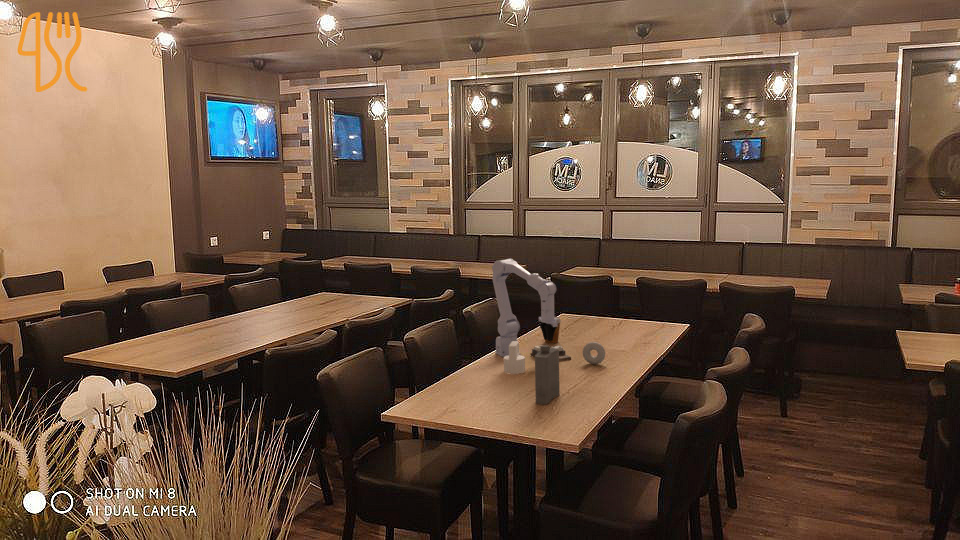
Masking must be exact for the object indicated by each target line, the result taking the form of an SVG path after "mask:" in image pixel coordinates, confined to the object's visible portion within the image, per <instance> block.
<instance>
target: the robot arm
mask: <svg viewBox="0 0 960 540" xmlns="http://www.w3.org/2000/svg"><path fill="white" fill-rule="evenodd" d="M491 269H492V276H491V277H492V278H491V279H492V283H493V289H494V293H495V298H496V302H497V307H498V311H499V314H500V316H499V318H498V319H497V332H498V334H499V335H500V336H497V337H496V339H495V354H496V355H498V356H499V357H502V358H504V357H505V356H508V355H509V345H510V343H511V342H512V341H518V332H519V331H520V328H521V325H520V322H519V320H518V319H517V316H516V315H515V314H513V311H512V307H511V302H510V297H509V293H508V288H507V285H506V280H507V278H508V276H509V275H511V274H512V273H513V274H515V275H517V276H518V277H520V278H522V279H523V280H526V283H527V285H528V286H530V287H531V288H533V289H534V290H536V291H537V292H538V295H539V297H540V298H539V299H540V309H541V311H540V313H541V314H540V316H538V322H540V323H538V327H540V330H541V332H542V337H543V340H544V341H545V340H546V339H547V340H548V341H552V340H553V336H554V332H555V330H556V328H557V327H558V323H557V322H556V321H557V319H555V318H554V317H555V294H556V293H557V286H556V284H555V282H553V281H547V279H544V278H542V277H541V276H540V274H539V273H530V272H529V271H528V270H526V269H525V268H524V267H522V266H521V265H520V264H518V262H517V261H516V260H514V259H513V258H506V259H501V260H495V262H494V263H493V264H492V266H491ZM519 355H521V353H520V352H519Z"/></svg>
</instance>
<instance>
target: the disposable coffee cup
mask: <svg viewBox="0 0 960 540" xmlns="http://www.w3.org/2000/svg"><path fill="white" fill-rule="evenodd" d="M554 318H555V319H557V321H556V322H557V323H558V327H557V328H556V330H555V332H554V336H553V340H552V341H548V340H547V339H546V340H545V339H544V342H546V344H549V343H551V344H552V343H554V344H557V343H559V338H560V337H559V335H560V327H561V322H562V319H561V318H560V317H559V316H554Z"/></svg>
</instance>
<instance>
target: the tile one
mask: <svg viewBox="0 0 960 540" xmlns="http://www.w3.org/2000/svg"><path fill="white" fill-rule="evenodd" d="M542 345H543V344H542ZM542 345H534V348H533V349H534V350H536V351H541V350H540V347H541V346H542Z"/></svg>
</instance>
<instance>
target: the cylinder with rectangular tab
mask: <svg viewBox="0 0 960 540" xmlns="http://www.w3.org/2000/svg"><path fill="white" fill-rule="evenodd" d="M519 353H520V341H518V340H517V341H512V342H511V343H510V345H509V355H508V356H505V357H503V372H504V373H505V374H507V373H510V374H509V375H520V374H519V373H521V374H524V373H526V357H525V355H521V354H520V355H519ZM523 372H524V373H523Z"/></svg>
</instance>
